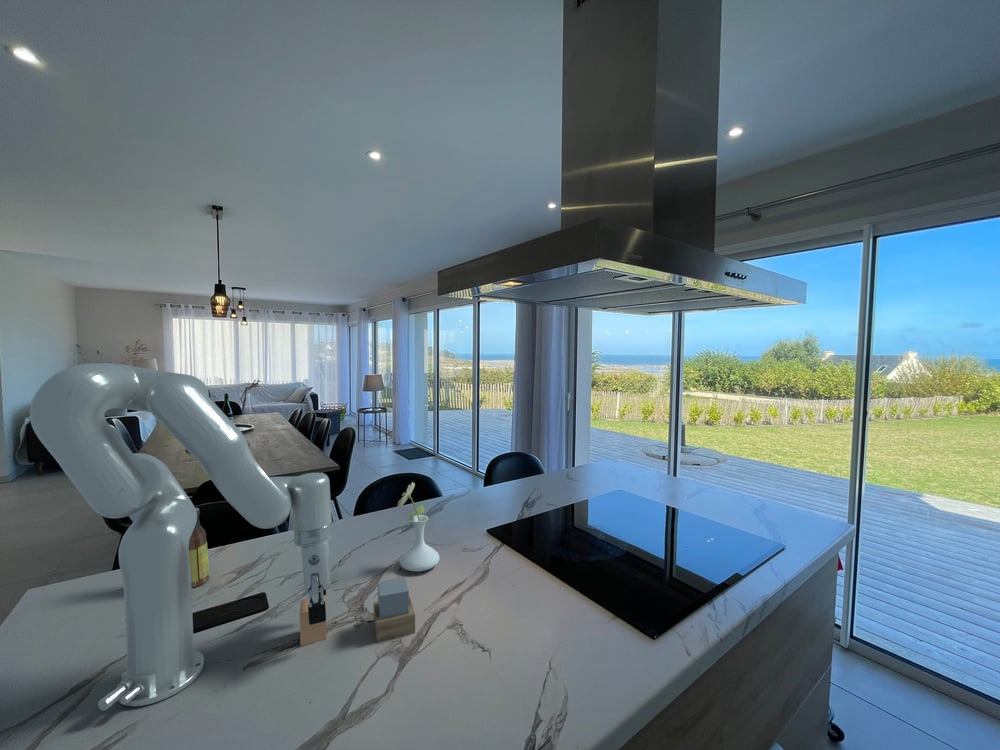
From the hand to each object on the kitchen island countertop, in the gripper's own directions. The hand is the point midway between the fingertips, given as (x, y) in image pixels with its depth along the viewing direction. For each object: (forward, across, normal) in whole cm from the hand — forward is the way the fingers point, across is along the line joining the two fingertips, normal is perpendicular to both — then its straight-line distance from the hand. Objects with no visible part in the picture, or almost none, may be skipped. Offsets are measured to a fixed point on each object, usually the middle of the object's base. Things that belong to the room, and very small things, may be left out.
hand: (318, 608), depth 89 cm
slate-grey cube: (+2, -4, -15) cm, 16 cm away
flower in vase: (+7, +20, -26) cm, 33 cm away
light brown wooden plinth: (+6, -4, -15) cm, 17 cm away
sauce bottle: (+5, +34, +31) cm, 46 cm away
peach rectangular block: (+6, 0, +1) cm, 6 cm away
